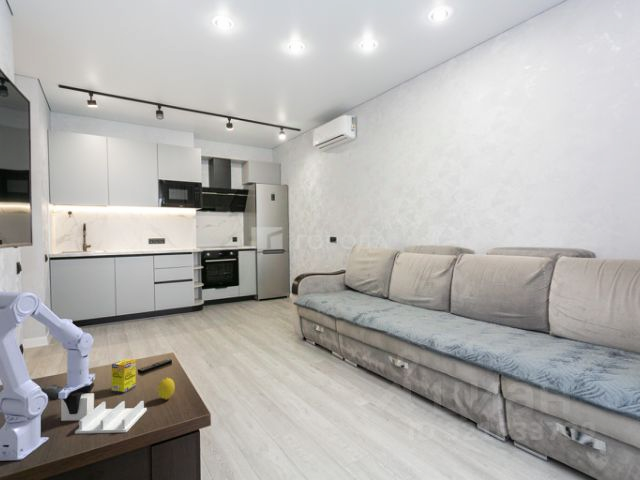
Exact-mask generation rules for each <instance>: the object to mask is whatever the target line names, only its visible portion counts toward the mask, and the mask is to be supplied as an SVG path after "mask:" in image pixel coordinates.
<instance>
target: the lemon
mask: <svg viewBox="0 0 640 480" xmlns="http://www.w3.org/2000/svg"><path fill="white" fill-rule="evenodd" d="M158 384H159V385H158V387H157V392H158V393H157V394H158V396H159V397H160V398H161V399H163V400H165V401H167V400H168V399H169V398H171V397H172V396H173V394H175V389H176V388H175V387H176V386H175V385H176V384H175V382H174V380H173V379H172V378H170V377H165V378H163V379H161V381H160V382H159V383H158Z"/></svg>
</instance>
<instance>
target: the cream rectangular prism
mask: <svg viewBox="0 0 640 480" xmlns="http://www.w3.org/2000/svg"><path fill="white" fill-rule="evenodd" d="M60 400H61V402H60V403H61V405H60V406H61V413H60V414H61V415H60V420H61V421H62V422H64V421H80V420H81V419H82V418H83V417H85V416H86V415H87V414H88V413H90V412H91V411H92V410H93V409H95V406H94V405H95V393H93V392H92V393H91V392H90V393H85V394H82V395H81V398H80V401H79V408H78V413H77V414H69V411H68V408H67V405H66V403H65V402H64V400H63V399H60Z"/></svg>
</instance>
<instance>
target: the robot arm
mask: <svg viewBox="0 0 640 480" xmlns="http://www.w3.org/2000/svg"><path fill="white" fill-rule="evenodd" d="M29 317H31V318H33V319H35V320H36V321H37V322H39V323H41V324H42V325H44V326H46V327H47V328H49V330H48V333H49V335H50V336H52V337H54V338H55V339H56V340H58V341H59V342H60V343H61V346H62V348H63V349H65V350H66V351H67V355H66V357H67V360H66V364H67V365H66V366H67V367H66V368H67V369H66V371H67V373H66V374H67V375H66V384H65V386H64V387H63V389H62V391H60V392H59V399H58V400H61V399H63V400H64V402H65V403H66V405H67V408H68V411H69V414H77V413H78V408H79V401H80V398H81V395H82V394H85V393H91V391H92V390H93V389H94V387H95V382H93V381H95V380H96V373H90V371H89V370H90V366H89V365H90V354H91V348H92V346H93V344H94V341H95V339H94V338H93V336H92V334H90V333H89V332H83V328H81V327H78V326H77V325H75V324H74V323H73V320H72V319H70V318H60V317H59V316H57V314H55V313H54V312H53V311H52V310H51V309H50V308H49V307H47V306H46V305H45V304H44V303H43V300H42V298H40V297H38V296H37V295H36V294H34V293H33V292H29V291H28V292H27V291H25V292H13V291H5V290H4V291H0V381H1V385H2V388H3V389H2V390H1V391H0V413H1V414H2V415H4V419H5V422H4V424H3V426H2V427H1V428H0V462H1V461H3V462H4V461H22V460H23V459H25V458H26V457H27V456H28V455H30V454H32V453H33V452H34V451H35V450H37V449H38V448H39V447H40V446H42V445H43V444H44V443H46V442H47V441H48V440H49V439H50V438H49V437H47V436H46V437H45V436H44V437H43V436H42V435H41V433H42V432H41V431H42V430H41V429H42V426H41V425H42V423H41V417H42V416H41V415H42V414H43V411H44V410H45V409H46V408H47V406H48V402H49V397H48V396H47V394H45V393H44V392H42V390H41V389H42V388H41V386H39V385H38V384H37V383H35V381H33V380H32V379H31V376H30V373H29V370H28V368H27V364H26V362H25V359H24V356H23V353H22V351H21V348H20V346H19V343H18V340H17V337H16V334H15V330H16V329H17V328H18V327H19V326H20V325H21V324H22V323H23V322H24V321H25V320H27V319H28V318H29ZM41 436H42V437H41Z"/></svg>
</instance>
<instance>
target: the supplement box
mask: <svg viewBox="0 0 640 480" xmlns="http://www.w3.org/2000/svg"><path fill="white" fill-rule="evenodd" d="M136 362H137V360H136V359H128V358H123V359H120V360H118V361H116V362H113V363H111V383H110V385H111V387H110V389H111V391H110V392H111V393H114V394H115V393H116V394H126V393H127V392H129V391H131V390H132V389H135V388H136V376H137V374H136V372H137V371H136V368H137V367H136V365H137V364H136Z"/></svg>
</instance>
